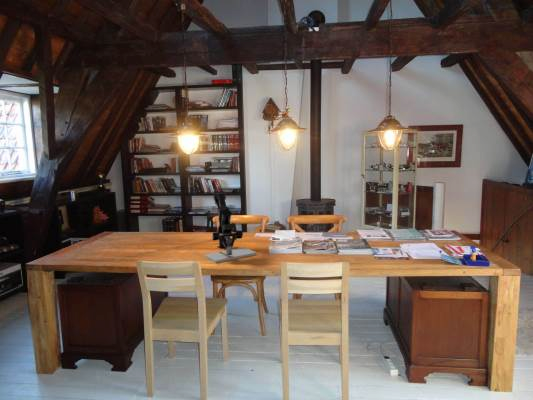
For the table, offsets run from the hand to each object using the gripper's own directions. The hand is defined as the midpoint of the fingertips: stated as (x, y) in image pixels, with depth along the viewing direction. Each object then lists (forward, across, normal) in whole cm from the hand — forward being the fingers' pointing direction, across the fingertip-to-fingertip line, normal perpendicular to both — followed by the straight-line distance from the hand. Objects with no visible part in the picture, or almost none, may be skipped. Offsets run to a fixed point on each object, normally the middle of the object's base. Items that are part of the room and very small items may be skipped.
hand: (229, 247), depth 239 cm
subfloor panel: (0, +2, +12) cm, 12 cm away
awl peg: (+3, 0, +4) cm, 5 cm away
